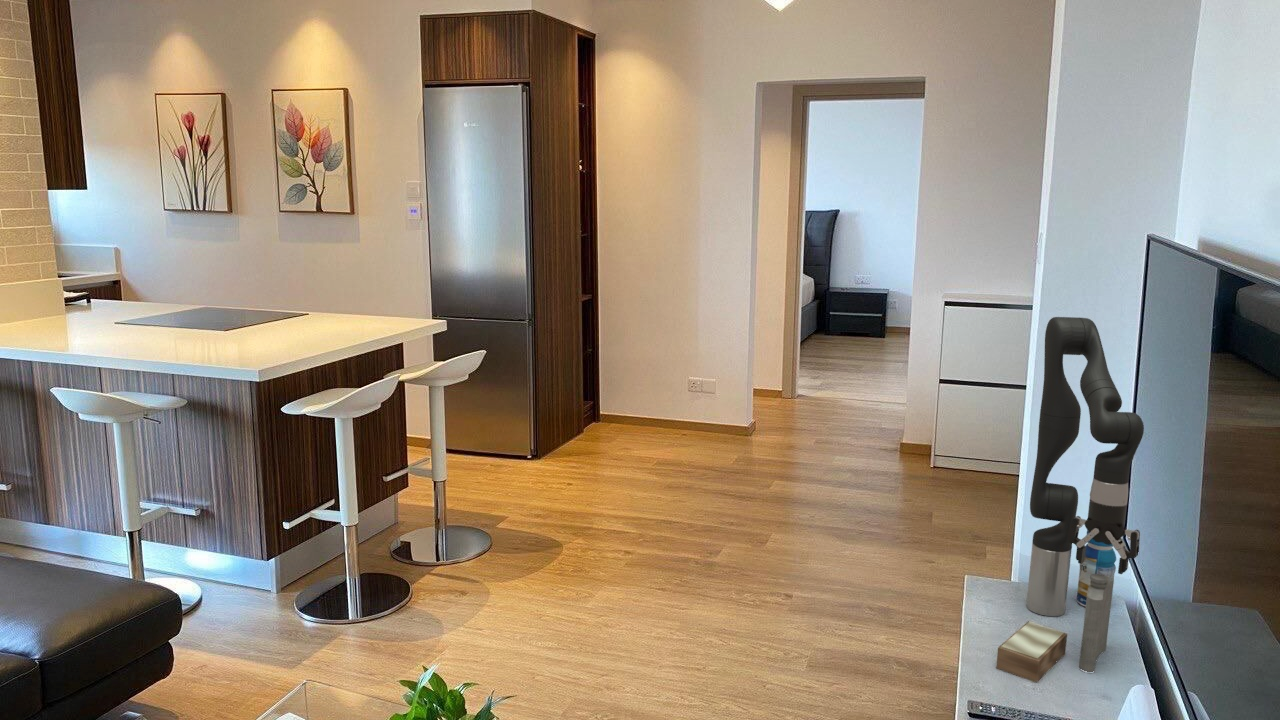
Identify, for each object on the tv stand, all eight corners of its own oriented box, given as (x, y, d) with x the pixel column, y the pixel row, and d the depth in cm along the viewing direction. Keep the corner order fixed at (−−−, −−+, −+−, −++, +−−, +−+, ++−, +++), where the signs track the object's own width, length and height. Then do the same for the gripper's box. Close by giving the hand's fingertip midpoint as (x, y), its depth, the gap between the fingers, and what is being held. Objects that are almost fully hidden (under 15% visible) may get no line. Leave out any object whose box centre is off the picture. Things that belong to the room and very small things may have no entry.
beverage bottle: (1109, 614, 244) (1117, 539, 240) (1073, 605, 248) (1081, 532, 244) (1113, 602, 251) (1121, 529, 247) (1078, 594, 255) (1086, 522, 251)
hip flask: (1092, 674, 213) (1102, 590, 209) (1073, 669, 215) (1082, 585, 212) (1106, 647, 226) (1116, 567, 222) (1088, 642, 228) (1097, 563, 224)
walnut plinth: (1026, 640, 228) (1028, 620, 227) (1065, 653, 222) (1067, 632, 222) (996, 668, 215) (998, 646, 214) (1036, 682, 209) (1039, 660, 208)
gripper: (1148, 502, 212) (1139, 572, 215) (1080, 488, 221) (1073, 554, 224) (1138, 510, 206) (1129, 581, 209) (1069, 495, 216) (1062, 563, 219)
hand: (1100, 567), depth 217 cm, fingers open, 8 cm apart
